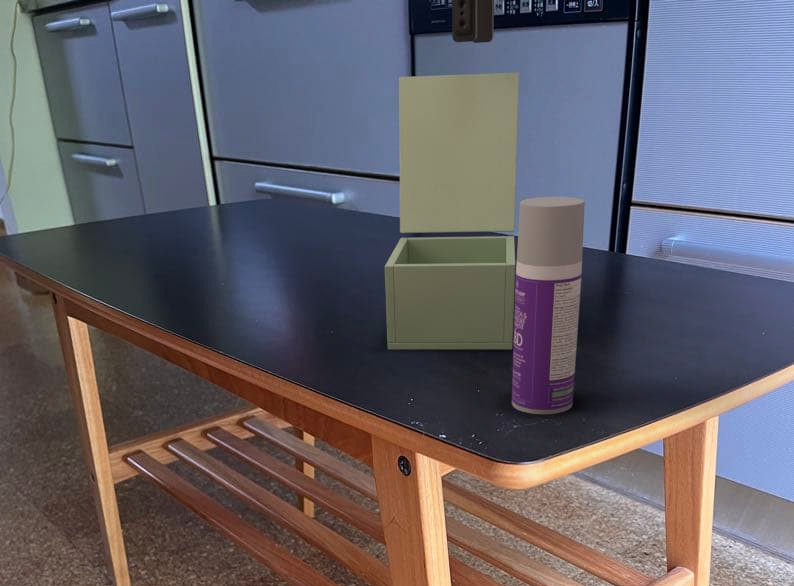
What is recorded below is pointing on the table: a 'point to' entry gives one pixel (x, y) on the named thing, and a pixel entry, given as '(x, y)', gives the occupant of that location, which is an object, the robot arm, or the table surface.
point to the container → (547, 303)
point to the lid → (458, 152)
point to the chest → (451, 293)
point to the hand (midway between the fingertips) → (473, 42)
